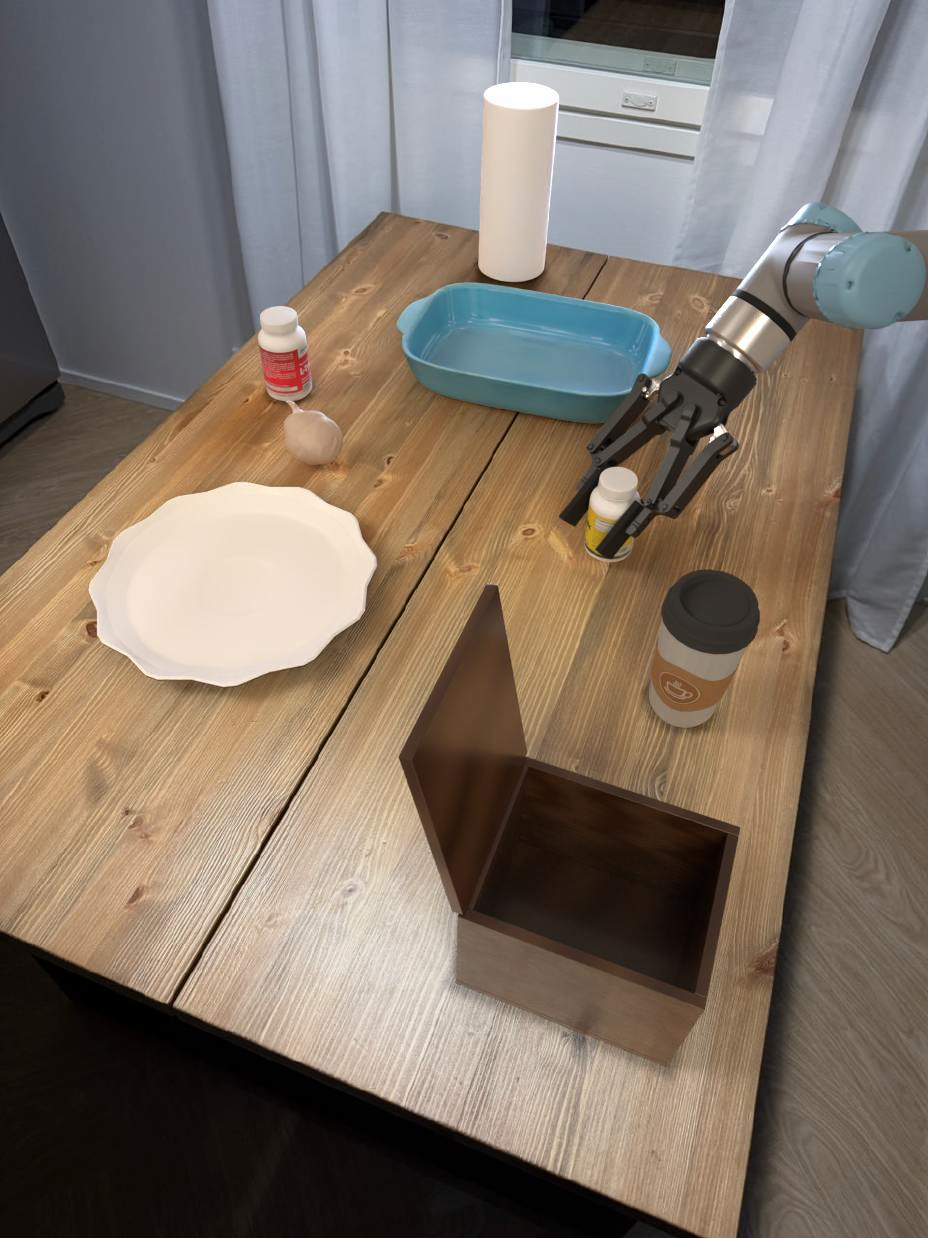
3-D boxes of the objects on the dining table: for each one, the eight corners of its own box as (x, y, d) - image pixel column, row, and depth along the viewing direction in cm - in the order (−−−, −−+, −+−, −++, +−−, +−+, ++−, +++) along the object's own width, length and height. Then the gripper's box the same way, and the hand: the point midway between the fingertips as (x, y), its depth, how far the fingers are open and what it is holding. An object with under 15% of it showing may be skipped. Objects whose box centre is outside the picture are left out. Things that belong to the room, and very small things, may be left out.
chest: (702, 901, 74) (740, 827, 64) (666, 1067, 65) (704, 1010, 56) (512, 834, 77) (522, 754, 68) (455, 983, 69) (457, 916, 59)
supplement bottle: (592, 524, 102) (604, 456, 94) (638, 539, 100) (653, 470, 93) (575, 554, 98) (585, 485, 91) (622, 570, 97) (636, 501, 89)
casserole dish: (374, 397, 119) (370, 350, 114) (429, 315, 134) (428, 269, 128) (646, 453, 112) (656, 406, 107) (673, 360, 127) (684, 314, 121)
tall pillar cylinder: (549, 254, 147) (564, 85, 128) (537, 285, 140) (552, 112, 121) (486, 245, 148) (492, 78, 129) (471, 276, 141) (475, 104, 122)
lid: (498, 584, 55) (486, 582, 55) (411, 759, 47) (397, 756, 47) (527, 752, 67) (517, 750, 68) (463, 915, 59) (451, 911, 59)
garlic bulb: (327, 437, 114) (321, 383, 108) (352, 463, 110) (346, 409, 104) (281, 454, 111) (271, 401, 105) (304, 482, 108) (296, 428, 102)
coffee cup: (622, 711, 86) (648, 608, 75) (661, 656, 91) (691, 551, 79) (701, 753, 83) (741, 653, 72) (737, 694, 88) (780, 591, 76)
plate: (39, 605, 94) (31, 590, 92) (243, 465, 110) (240, 450, 108) (232, 749, 83) (227, 735, 81) (429, 571, 98) (429, 555, 96)
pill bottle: (312, 402, 119) (301, 327, 110) (265, 404, 118) (251, 328, 110) (313, 375, 123) (303, 301, 114) (268, 377, 122) (255, 302, 114)
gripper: (811, 415, 87) (657, 597, 93) (681, 331, 97) (549, 500, 103) (789, 386, 81) (626, 582, 87) (653, 299, 91) (515, 480, 97)
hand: (584, 537), depth 95 cm, fingers closed on supplement bottle, 5 cm apart
